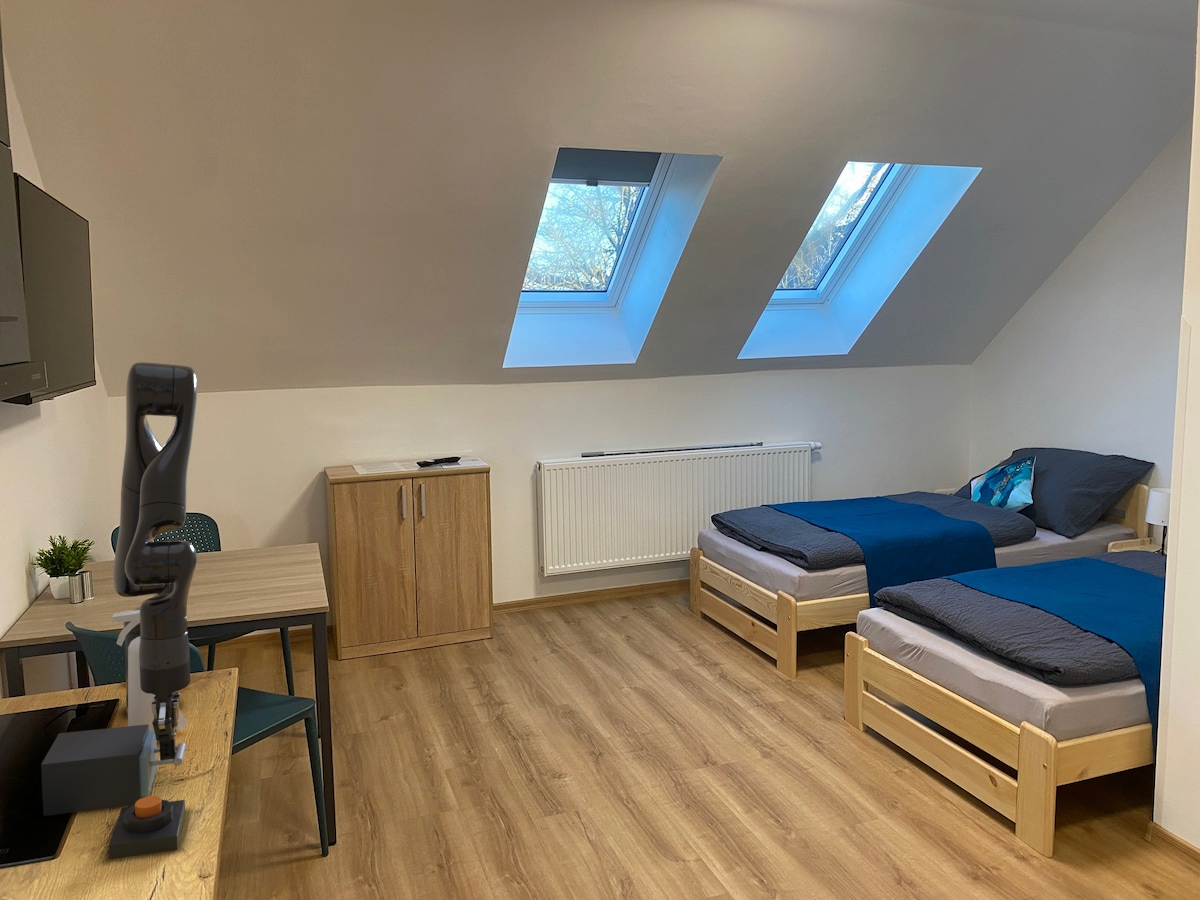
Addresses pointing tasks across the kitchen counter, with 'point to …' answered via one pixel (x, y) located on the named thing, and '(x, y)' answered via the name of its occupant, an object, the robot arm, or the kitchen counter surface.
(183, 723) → the fire extinguisher
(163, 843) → the control block
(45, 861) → the kitchen counter surface
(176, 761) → the drawer
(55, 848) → the kitchen counter surface
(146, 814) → the button
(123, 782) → the drawer housing
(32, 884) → the kitchen counter surface
